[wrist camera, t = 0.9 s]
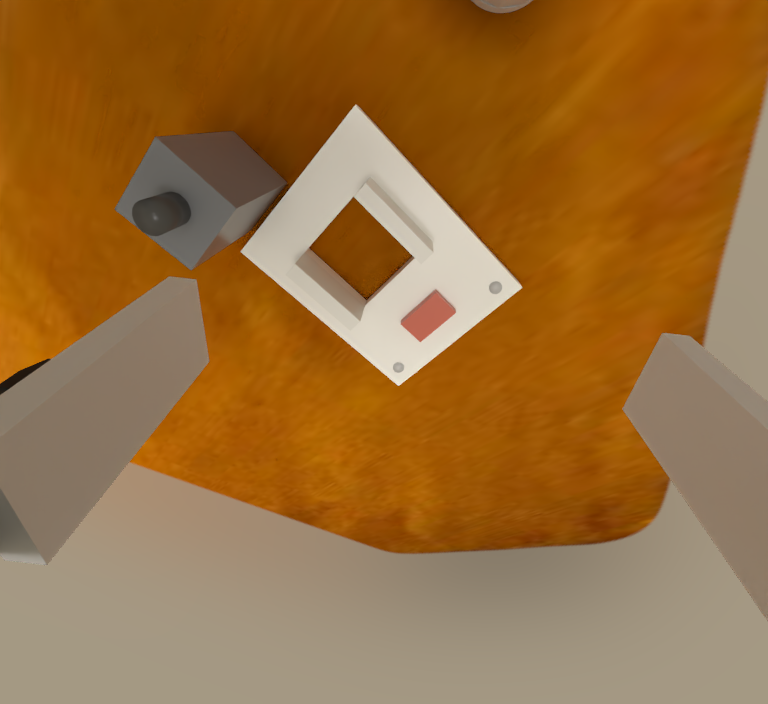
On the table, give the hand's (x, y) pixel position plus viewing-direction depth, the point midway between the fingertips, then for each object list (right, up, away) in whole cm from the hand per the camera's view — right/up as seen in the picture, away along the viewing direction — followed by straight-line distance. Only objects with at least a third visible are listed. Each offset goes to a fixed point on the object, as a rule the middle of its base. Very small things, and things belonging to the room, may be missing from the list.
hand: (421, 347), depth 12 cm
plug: (-12, +13, +19) cm, 26 cm away
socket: (-1, +7, +22) cm, 23 cm away
